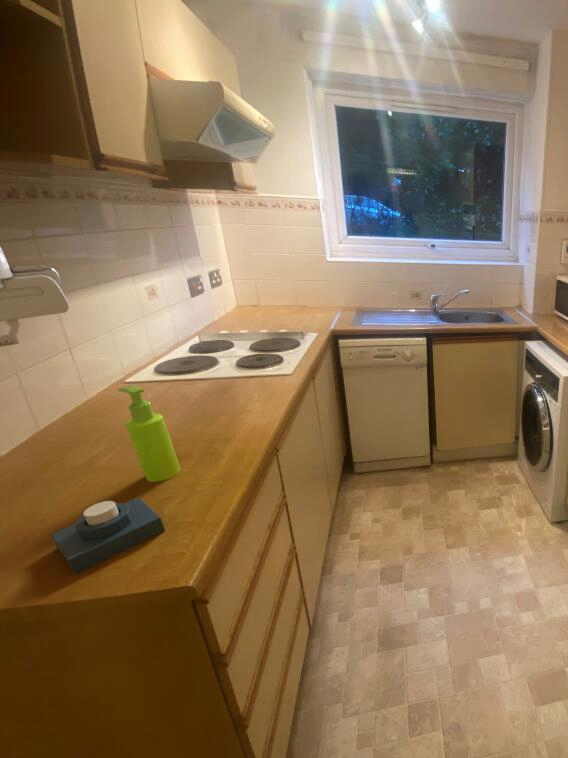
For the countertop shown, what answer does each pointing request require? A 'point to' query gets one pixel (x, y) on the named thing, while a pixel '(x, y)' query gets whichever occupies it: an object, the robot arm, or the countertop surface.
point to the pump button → (101, 513)
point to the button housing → (107, 535)
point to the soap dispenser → (150, 438)
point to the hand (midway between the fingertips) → (7, 345)
